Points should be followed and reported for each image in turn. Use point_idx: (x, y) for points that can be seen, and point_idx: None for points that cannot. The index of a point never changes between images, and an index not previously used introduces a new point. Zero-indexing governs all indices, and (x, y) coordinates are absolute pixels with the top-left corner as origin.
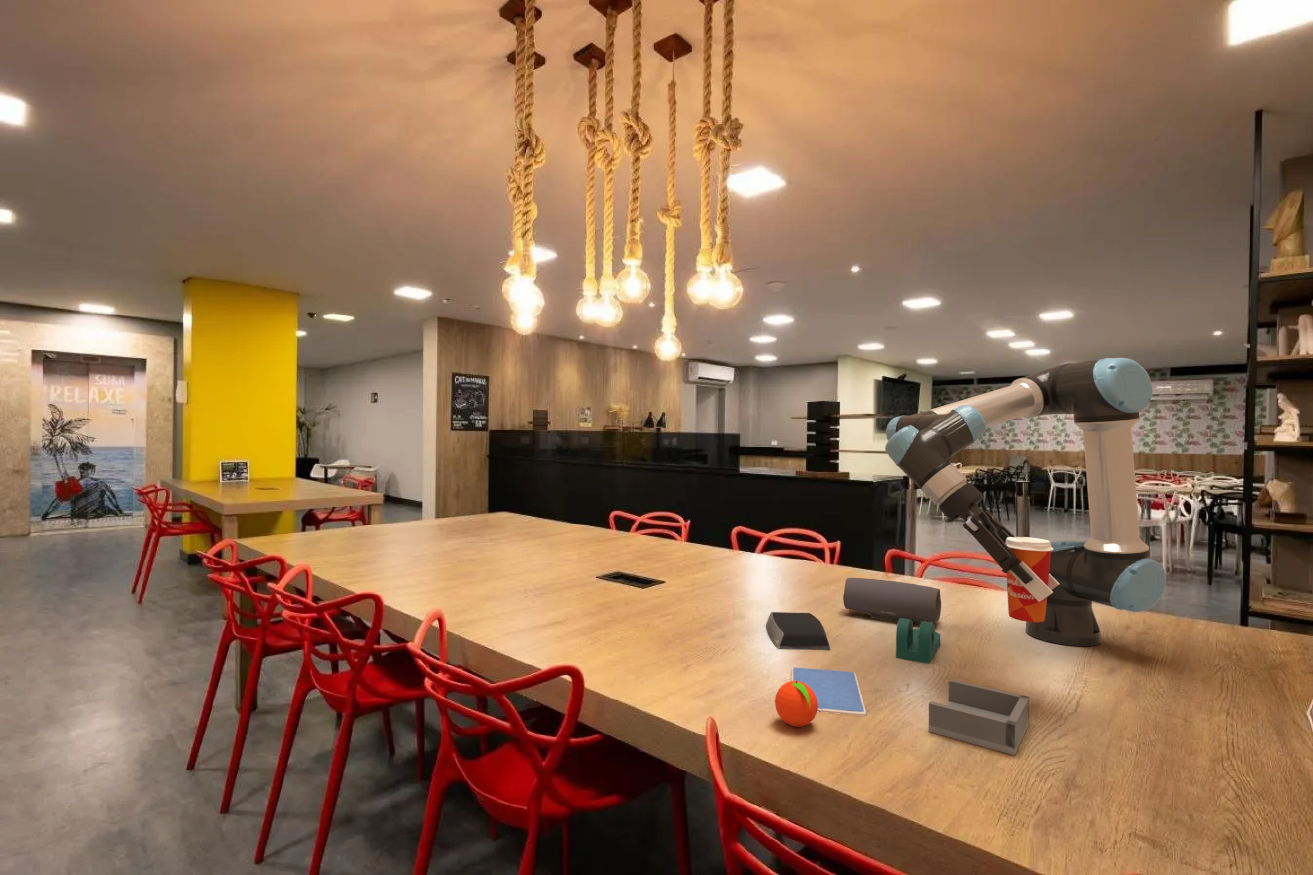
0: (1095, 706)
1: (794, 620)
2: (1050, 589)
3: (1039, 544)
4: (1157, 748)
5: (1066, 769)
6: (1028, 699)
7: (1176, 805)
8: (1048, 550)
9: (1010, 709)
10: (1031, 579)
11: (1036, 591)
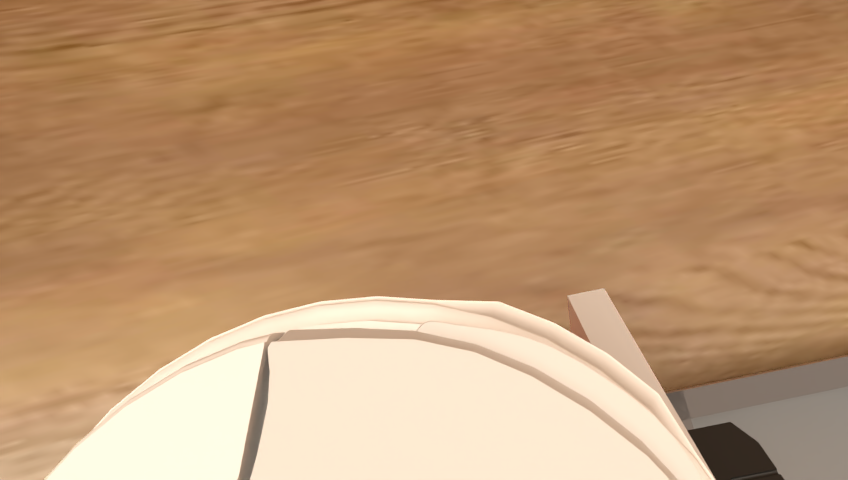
0: (295, 305)
1: None
2: (574, 311)
3: (607, 424)
4: (493, 108)
5: (845, 220)
6: (678, 391)
7: (794, 12)
8: (495, 310)
9: None
10: (739, 429)
11: None
